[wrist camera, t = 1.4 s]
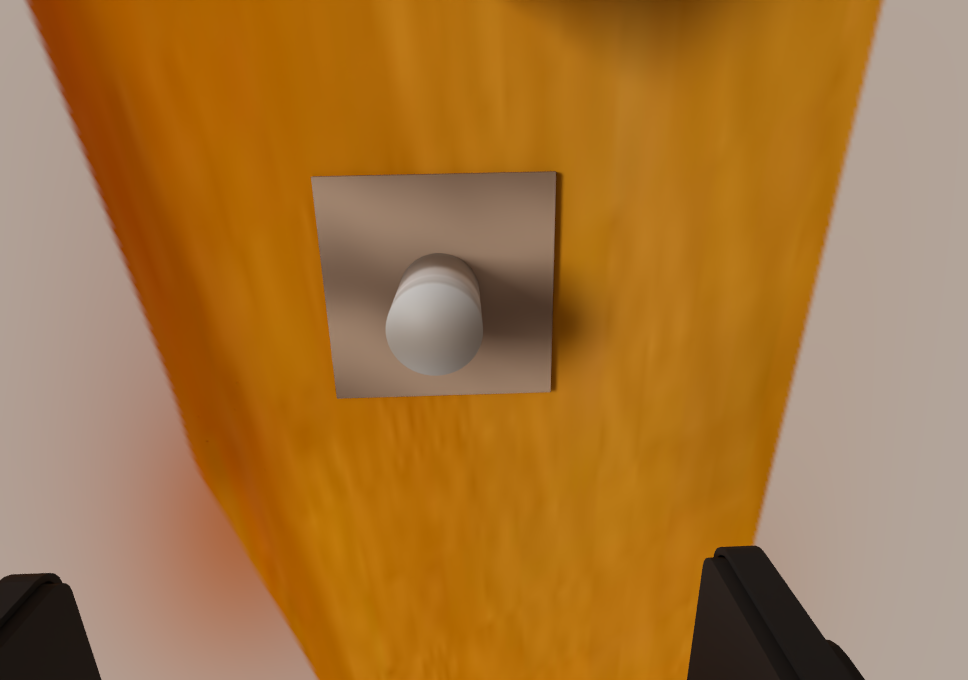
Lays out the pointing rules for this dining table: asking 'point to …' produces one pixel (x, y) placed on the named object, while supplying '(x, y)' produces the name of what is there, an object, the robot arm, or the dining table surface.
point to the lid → (438, 282)
